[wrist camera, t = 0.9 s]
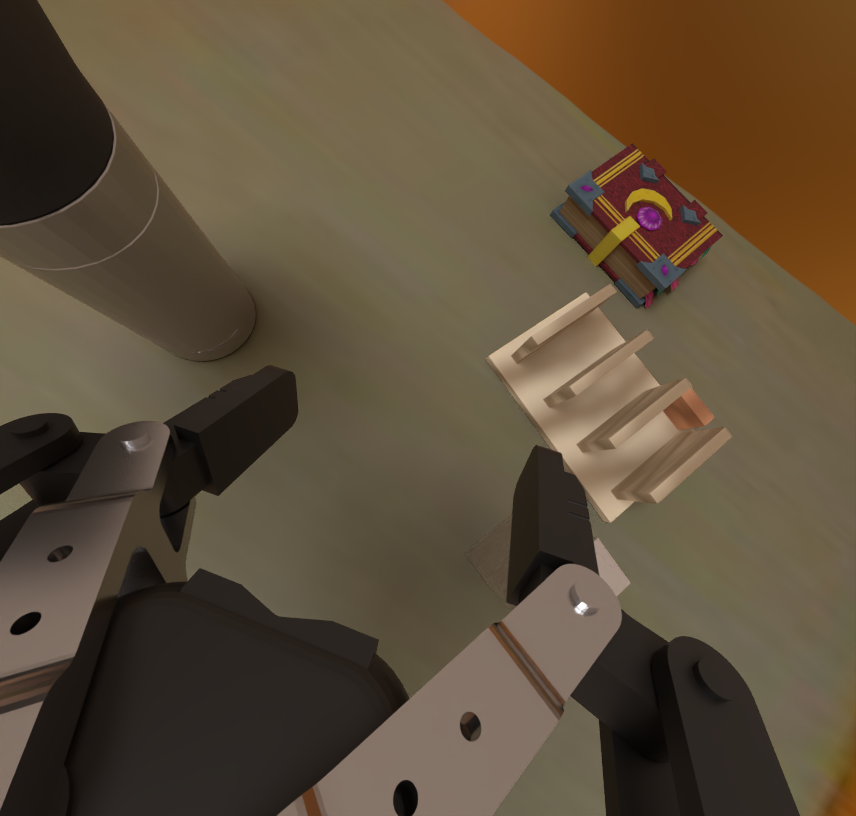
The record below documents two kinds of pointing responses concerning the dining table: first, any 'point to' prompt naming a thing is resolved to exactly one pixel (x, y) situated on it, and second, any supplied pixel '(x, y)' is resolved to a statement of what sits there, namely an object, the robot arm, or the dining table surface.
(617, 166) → the decorative book
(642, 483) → the slot rack
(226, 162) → the dining table surface
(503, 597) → the aluminium block
